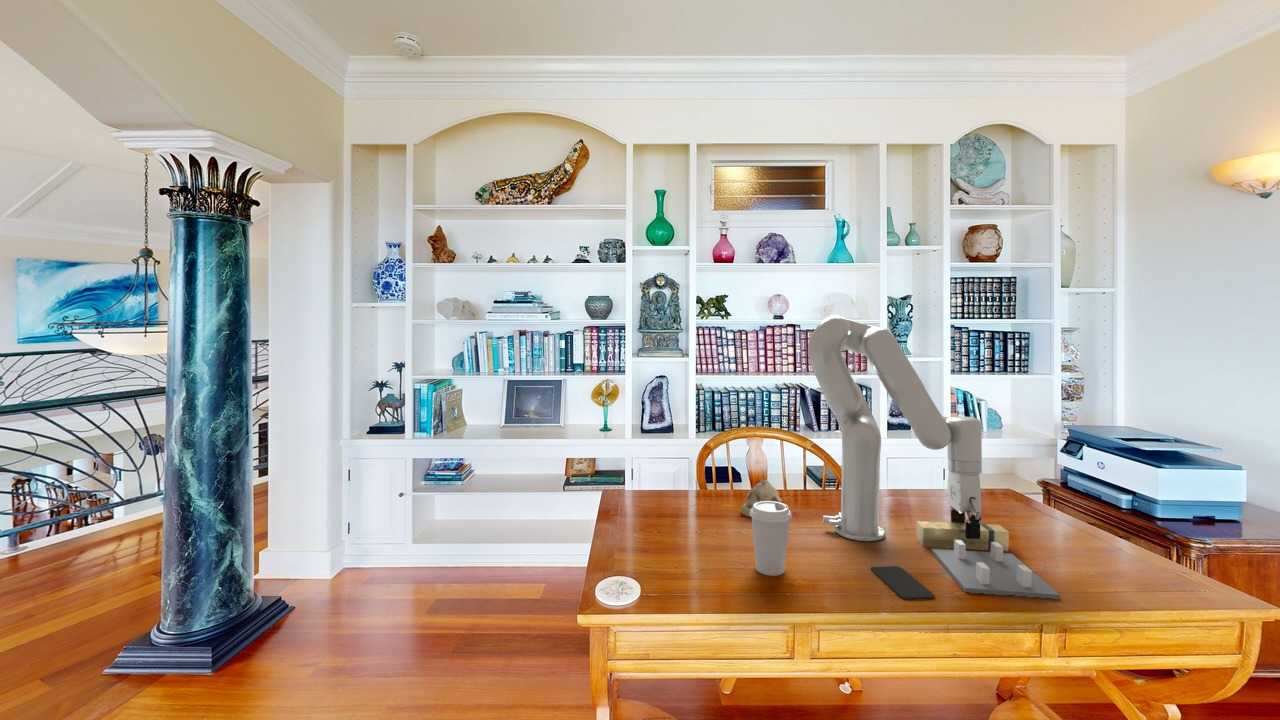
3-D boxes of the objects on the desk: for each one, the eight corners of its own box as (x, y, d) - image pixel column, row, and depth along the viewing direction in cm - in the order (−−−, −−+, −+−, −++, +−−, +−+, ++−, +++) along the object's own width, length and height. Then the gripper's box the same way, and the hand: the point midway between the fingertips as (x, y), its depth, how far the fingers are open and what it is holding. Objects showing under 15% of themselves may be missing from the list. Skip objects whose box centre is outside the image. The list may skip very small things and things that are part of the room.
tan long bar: (922, 547, 142) (923, 527, 142) (916, 539, 147) (916, 520, 147) (1008, 551, 139) (1009, 531, 138) (998, 543, 144) (999, 524, 143)
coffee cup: (784, 582, 123) (784, 516, 122) (743, 572, 128) (743, 508, 127) (796, 566, 131) (797, 503, 130) (757, 557, 136) (758, 497, 135)
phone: (899, 565, 130) (937, 596, 115) (899, 569, 130) (937, 600, 115) (868, 566, 130) (902, 597, 115) (868, 570, 130) (902, 601, 115)
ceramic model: (757, 502, 179) (758, 471, 178) (790, 509, 171) (790, 477, 170) (734, 513, 168) (734, 481, 167) (767, 522, 161) (767, 488, 160)
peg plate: (964, 592, 118) (965, 571, 117) (931, 552, 138) (932, 534, 138) (1059, 599, 114) (1060, 578, 114) (1011, 557, 135) (1012, 539, 135)
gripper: (936, 457, 151) (937, 519, 152) (961, 474, 134) (962, 543, 135) (967, 457, 149) (967, 520, 150) (995, 474, 132) (996, 544, 133)
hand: (965, 531), depth 143 cm, fingers open, 9 cm apart
